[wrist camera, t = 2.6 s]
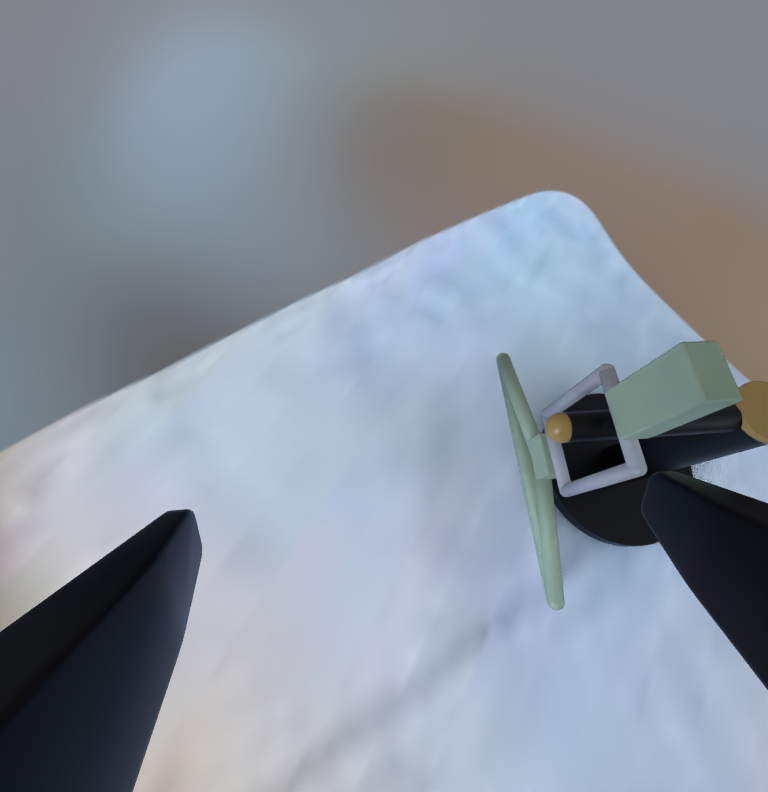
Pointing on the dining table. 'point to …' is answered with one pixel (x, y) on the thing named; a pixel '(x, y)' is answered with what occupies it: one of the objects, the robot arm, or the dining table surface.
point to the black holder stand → (670, 451)
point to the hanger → (633, 419)
